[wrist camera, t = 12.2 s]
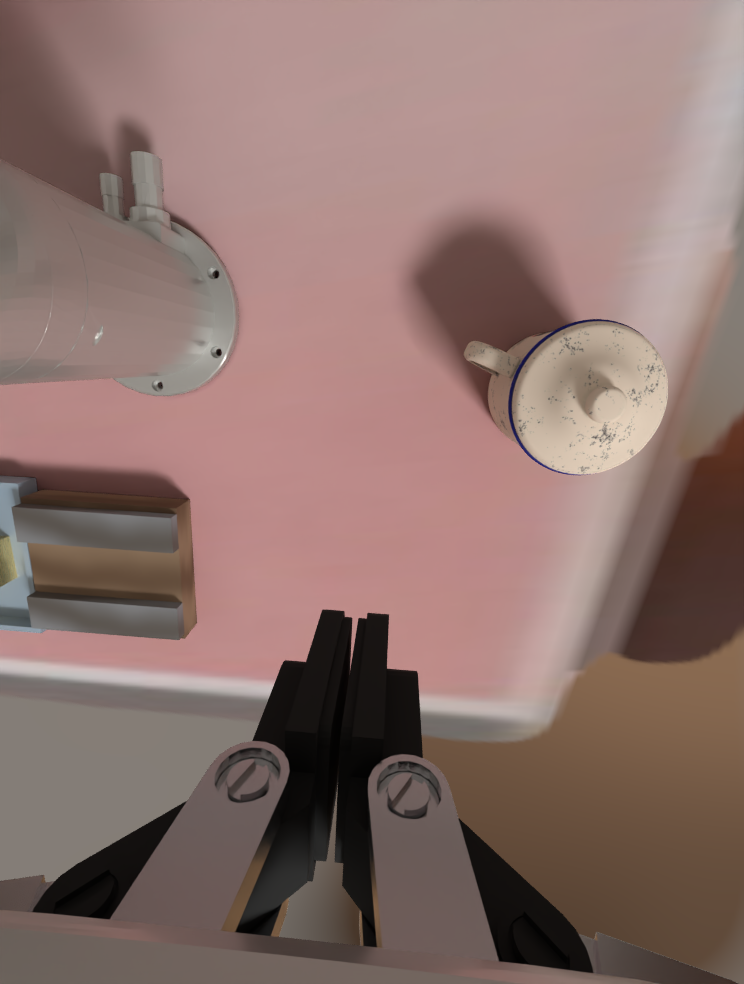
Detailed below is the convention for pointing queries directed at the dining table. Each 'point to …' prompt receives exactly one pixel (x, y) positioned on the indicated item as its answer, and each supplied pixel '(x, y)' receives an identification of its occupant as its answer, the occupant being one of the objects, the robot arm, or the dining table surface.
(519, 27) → the dining table surface
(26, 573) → the tray
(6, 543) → the light brown cube
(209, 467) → the dining table surface
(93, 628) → the slot bed
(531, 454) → the teacup with lid
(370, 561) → the dining table surface
